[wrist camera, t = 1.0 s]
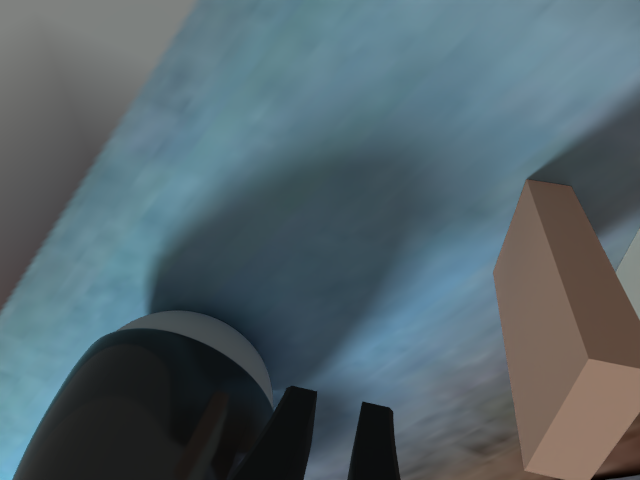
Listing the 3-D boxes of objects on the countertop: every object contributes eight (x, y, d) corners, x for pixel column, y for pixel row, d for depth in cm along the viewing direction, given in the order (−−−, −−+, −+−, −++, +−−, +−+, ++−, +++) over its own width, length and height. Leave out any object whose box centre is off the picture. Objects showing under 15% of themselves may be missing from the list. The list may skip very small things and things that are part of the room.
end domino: (571, 186, 18) (666, 374, 10) (532, 279, 20) (586, 484, 13) (526, 179, 18) (588, 358, 10) (493, 272, 20) (524, 470, 13)
